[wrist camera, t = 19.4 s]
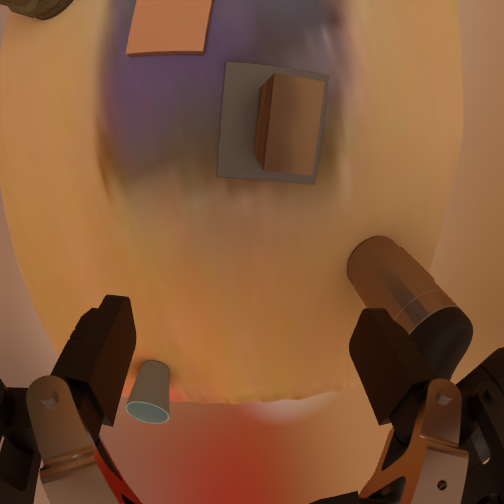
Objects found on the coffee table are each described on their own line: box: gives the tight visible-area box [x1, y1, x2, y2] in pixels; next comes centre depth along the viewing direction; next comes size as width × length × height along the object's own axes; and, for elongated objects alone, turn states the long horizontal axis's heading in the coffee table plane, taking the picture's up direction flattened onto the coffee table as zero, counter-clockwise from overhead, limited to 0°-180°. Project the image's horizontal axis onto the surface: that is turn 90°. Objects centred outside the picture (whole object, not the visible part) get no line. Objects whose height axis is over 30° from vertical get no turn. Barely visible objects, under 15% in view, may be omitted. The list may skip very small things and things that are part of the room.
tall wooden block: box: [253, 73, 325, 176], centre depth 25 cm, size 4×8×11 cm, turn 174°
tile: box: [126, 0, 214, 57], centre depth 22 cm, size 9×2×10 cm
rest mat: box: [217, 62, 329, 185], centre depth 30 cm, size 12×14×1 cm
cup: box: [126, 360, 170, 424], centre depth 43 cm, size 8×8×10 cm
